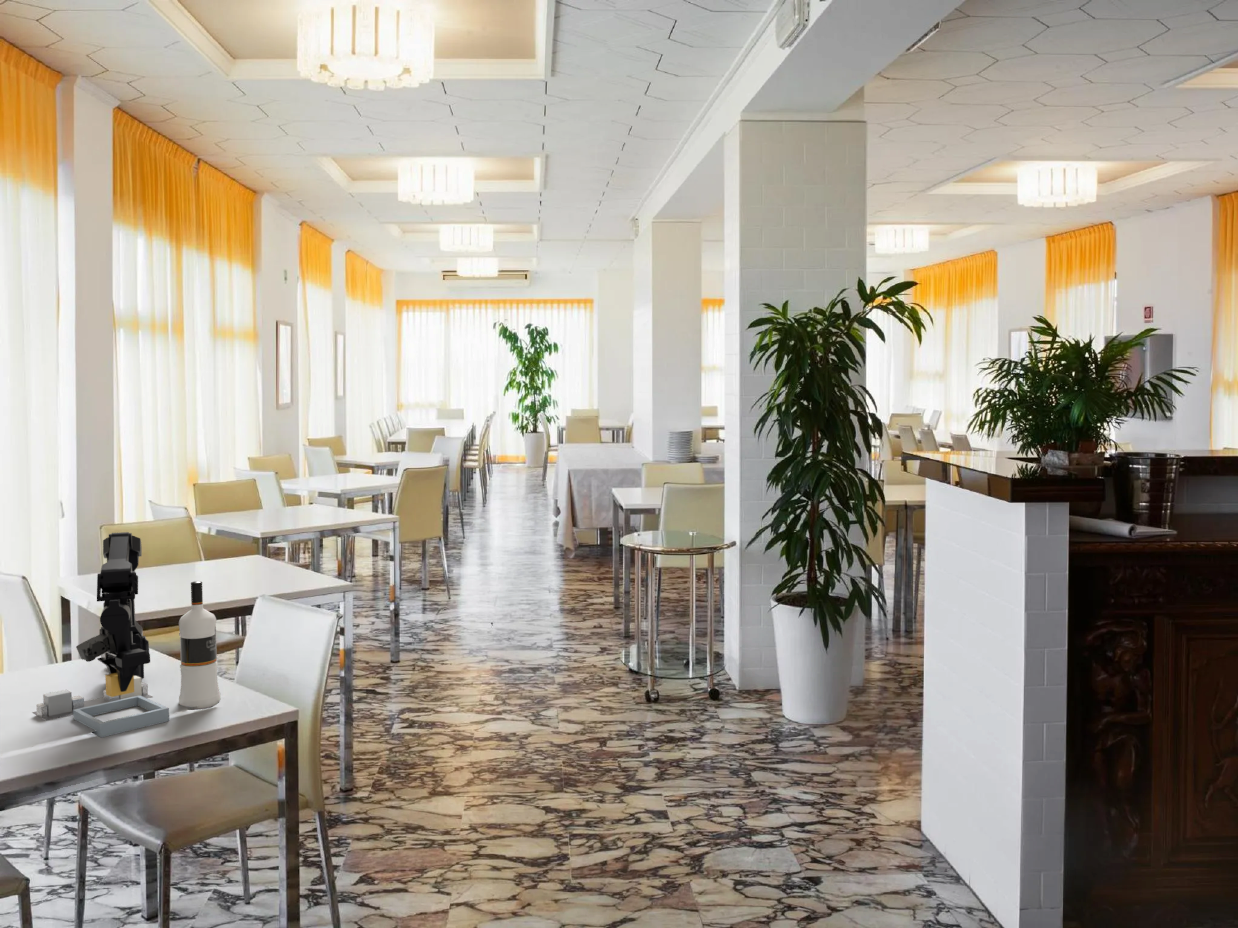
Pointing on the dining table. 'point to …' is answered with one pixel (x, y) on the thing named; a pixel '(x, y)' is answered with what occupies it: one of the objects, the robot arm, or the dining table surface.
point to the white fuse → (136, 689)
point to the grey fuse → (58, 702)
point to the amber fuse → (116, 685)
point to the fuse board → (87, 703)
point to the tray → (123, 724)
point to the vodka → (198, 654)
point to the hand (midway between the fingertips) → (120, 689)
